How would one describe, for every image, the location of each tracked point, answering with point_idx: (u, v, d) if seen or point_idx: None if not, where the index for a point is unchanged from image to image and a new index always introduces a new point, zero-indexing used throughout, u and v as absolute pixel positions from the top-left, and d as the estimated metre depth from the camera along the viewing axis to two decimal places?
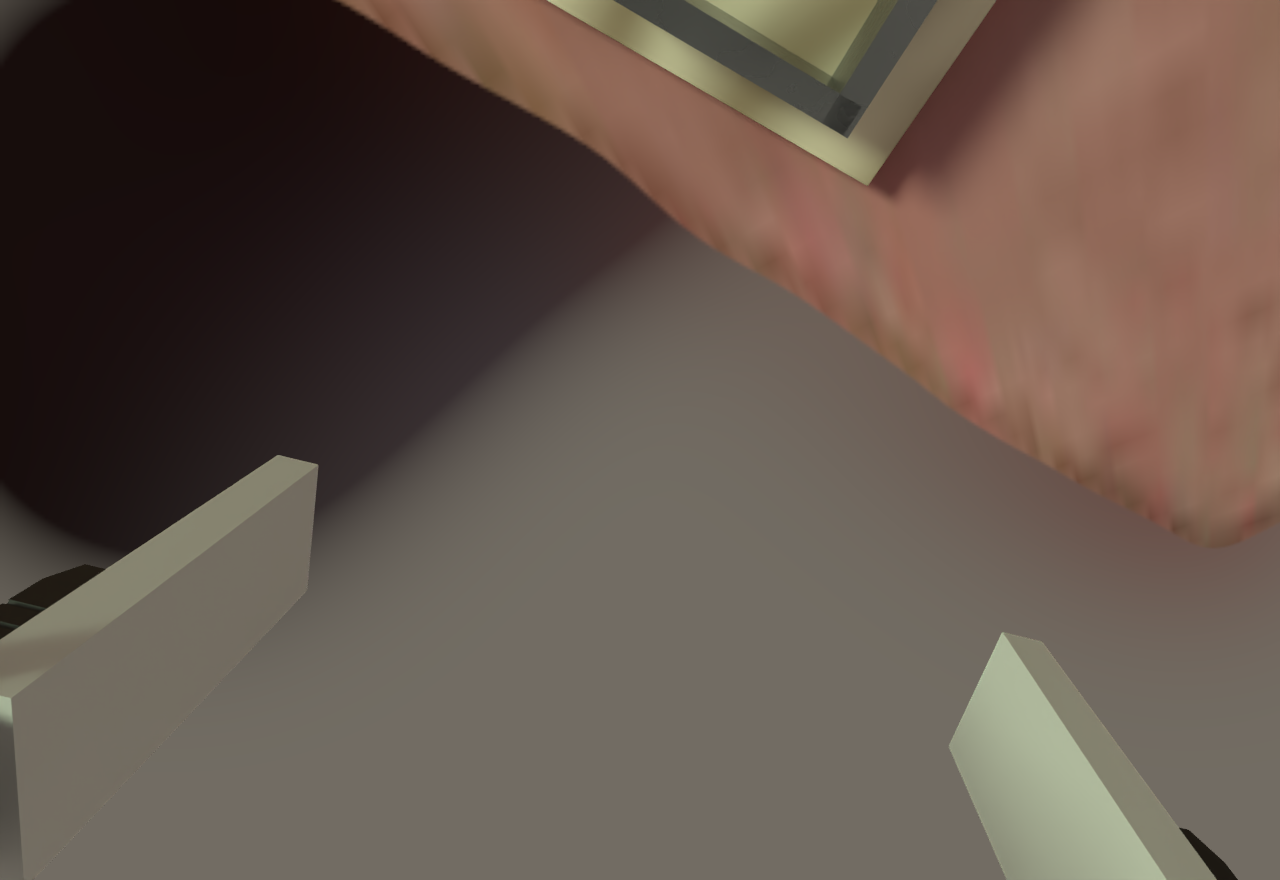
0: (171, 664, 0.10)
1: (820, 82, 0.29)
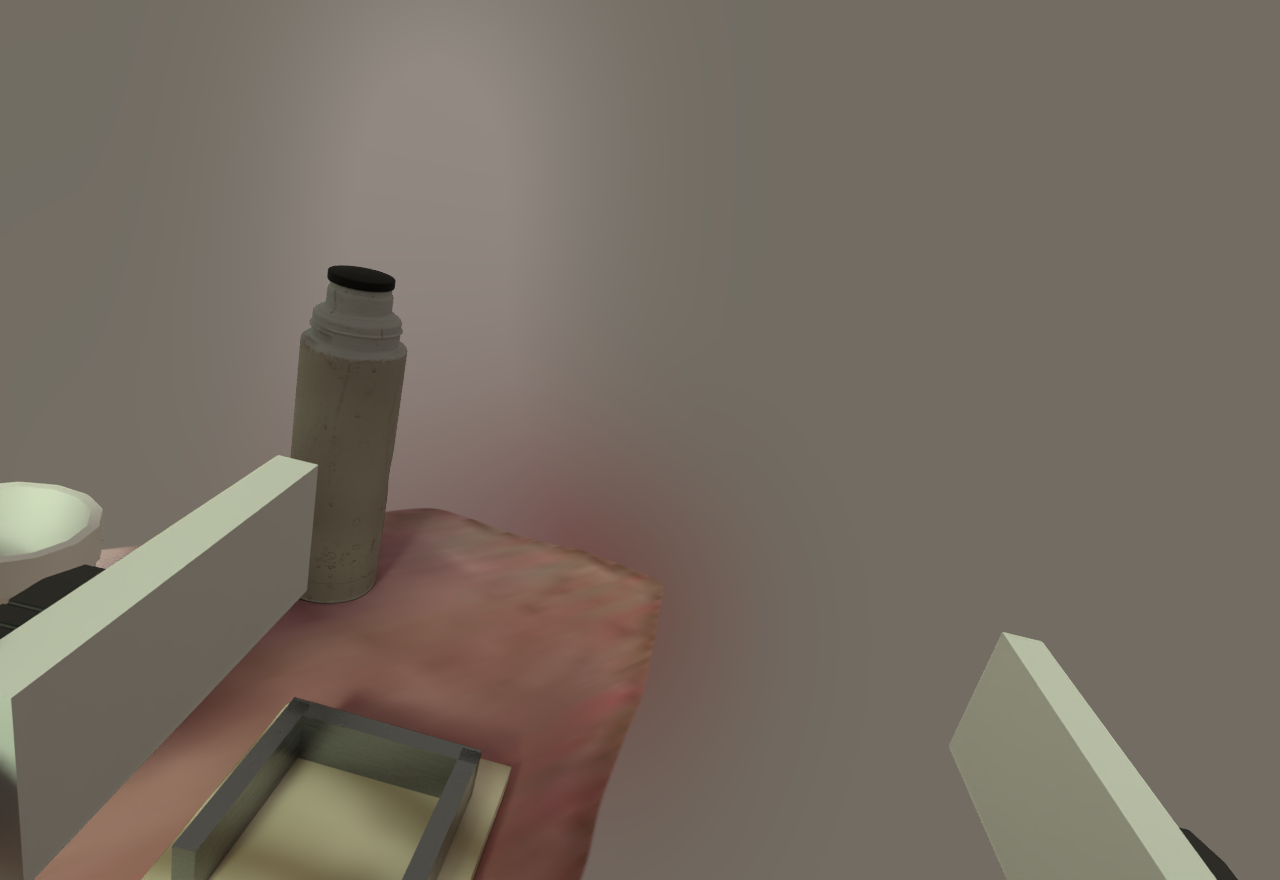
0: (171, 664, 0.10)
1: (452, 770, 0.46)
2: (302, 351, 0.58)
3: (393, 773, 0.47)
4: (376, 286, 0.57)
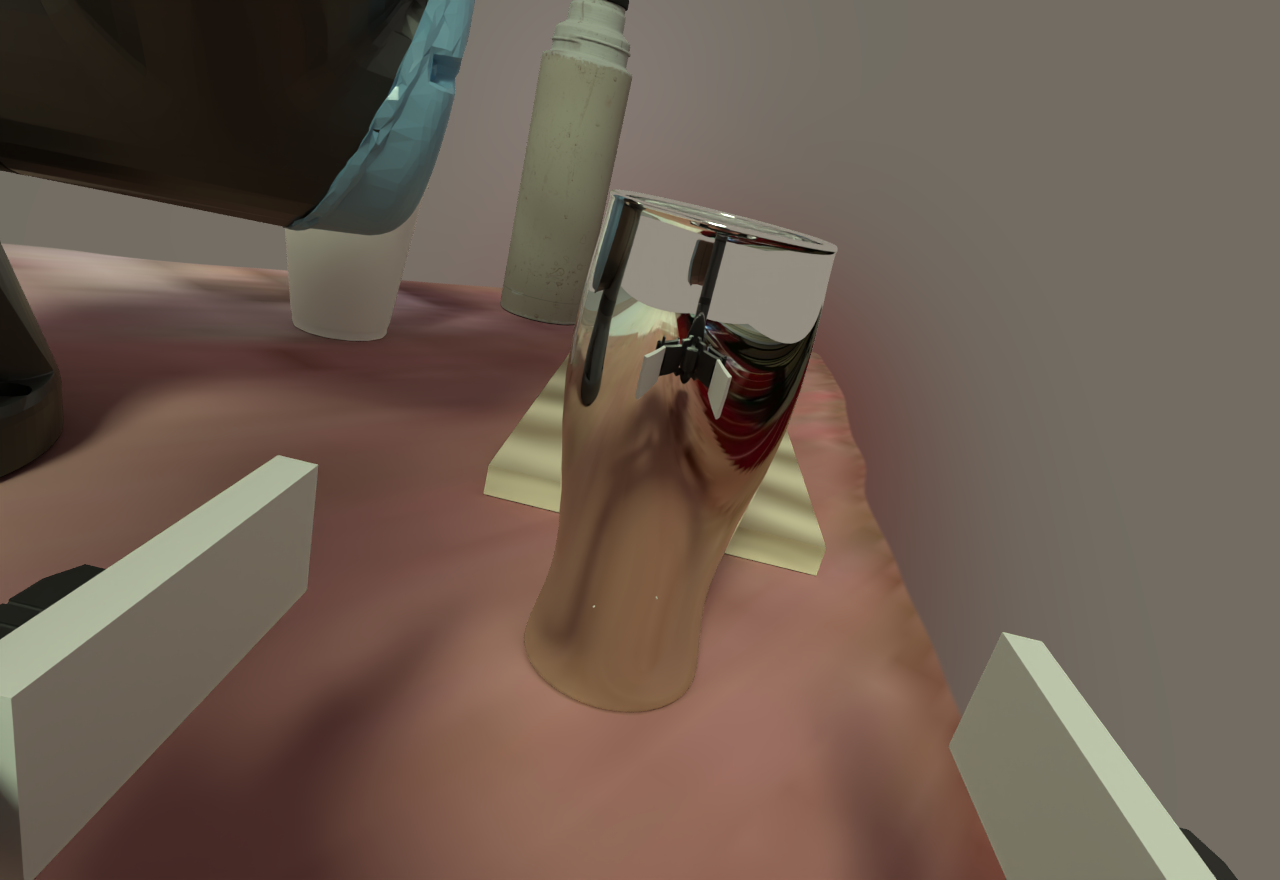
0: (171, 664, 0.10)
1: None
2: (549, 62, 0.63)
3: None
4: None
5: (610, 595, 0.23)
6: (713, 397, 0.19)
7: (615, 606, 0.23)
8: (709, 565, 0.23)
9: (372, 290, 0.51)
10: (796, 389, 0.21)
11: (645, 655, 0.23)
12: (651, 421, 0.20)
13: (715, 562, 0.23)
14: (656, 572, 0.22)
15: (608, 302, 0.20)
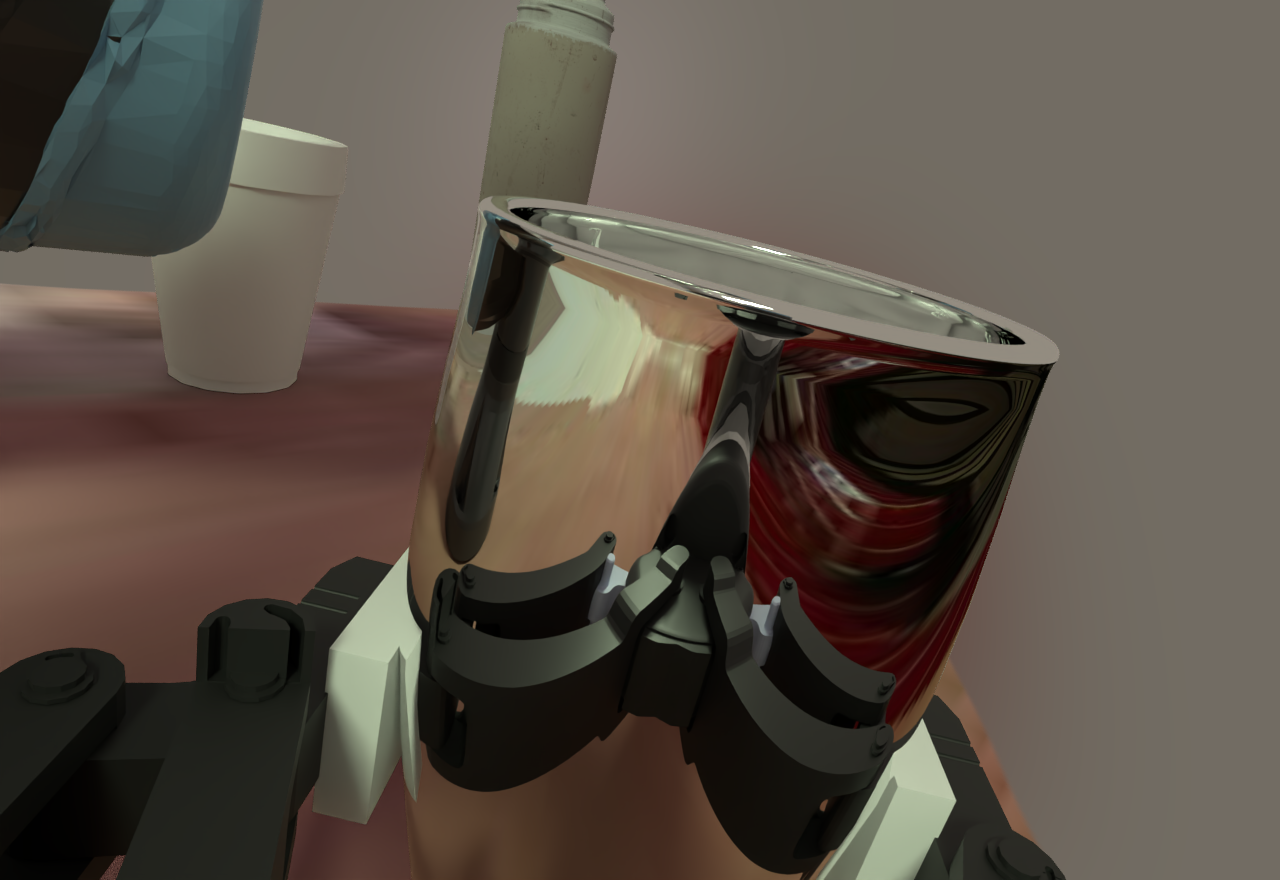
0: None
1: None
2: (512, 37, 0.51)
3: None
4: None
5: None
6: (744, 769, 0.07)
7: None
8: None
9: (266, 328, 0.38)
10: (939, 679, 0.09)
11: None
12: (576, 816, 0.07)
13: None
14: None
15: (462, 495, 0.07)
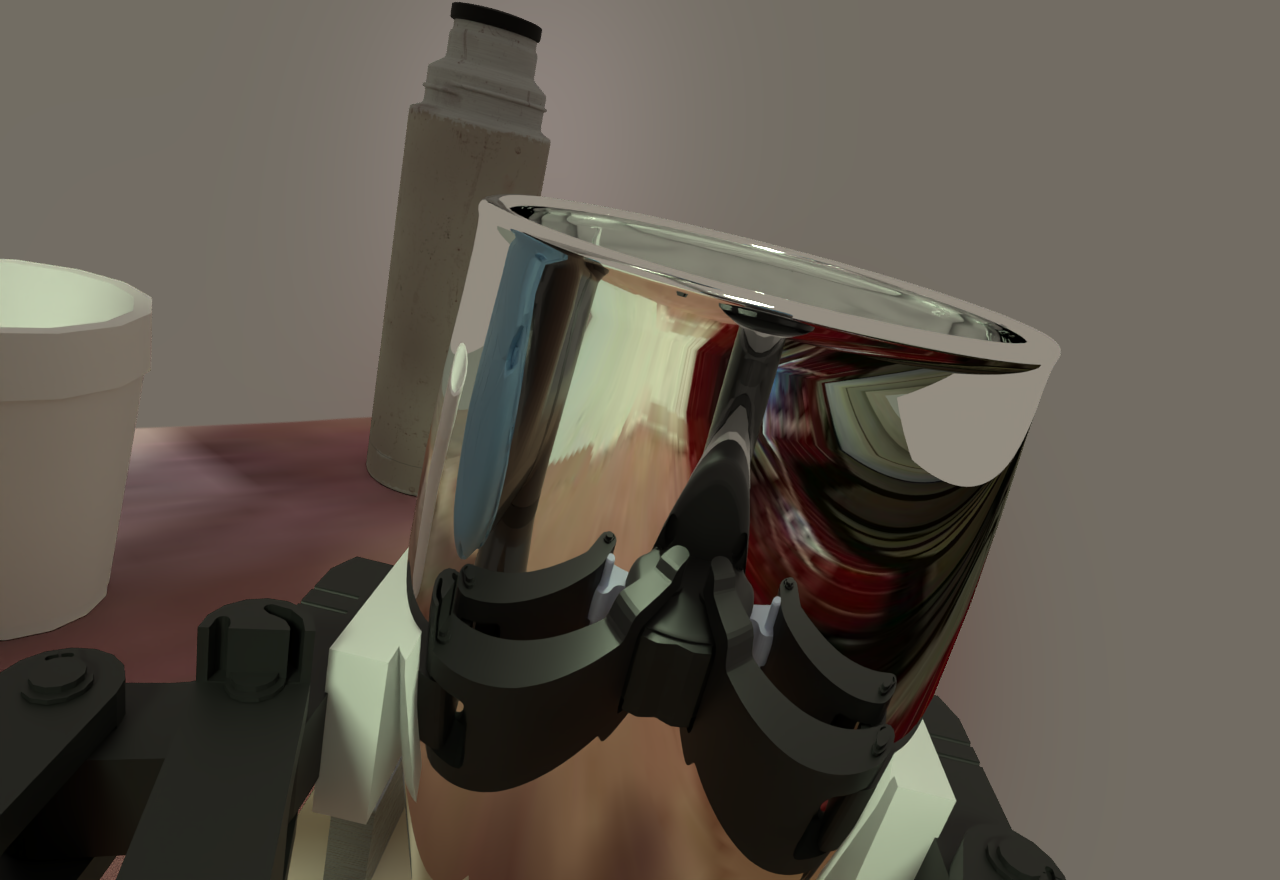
0: None
1: None
2: (415, 124, 0.41)
3: None
4: (524, 25, 0.40)
5: None
6: (745, 768, 0.07)
7: None
8: None
9: (36, 560, 0.28)
10: None
11: None
12: (577, 816, 0.07)
13: None
14: None
15: (462, 494, 0.07)
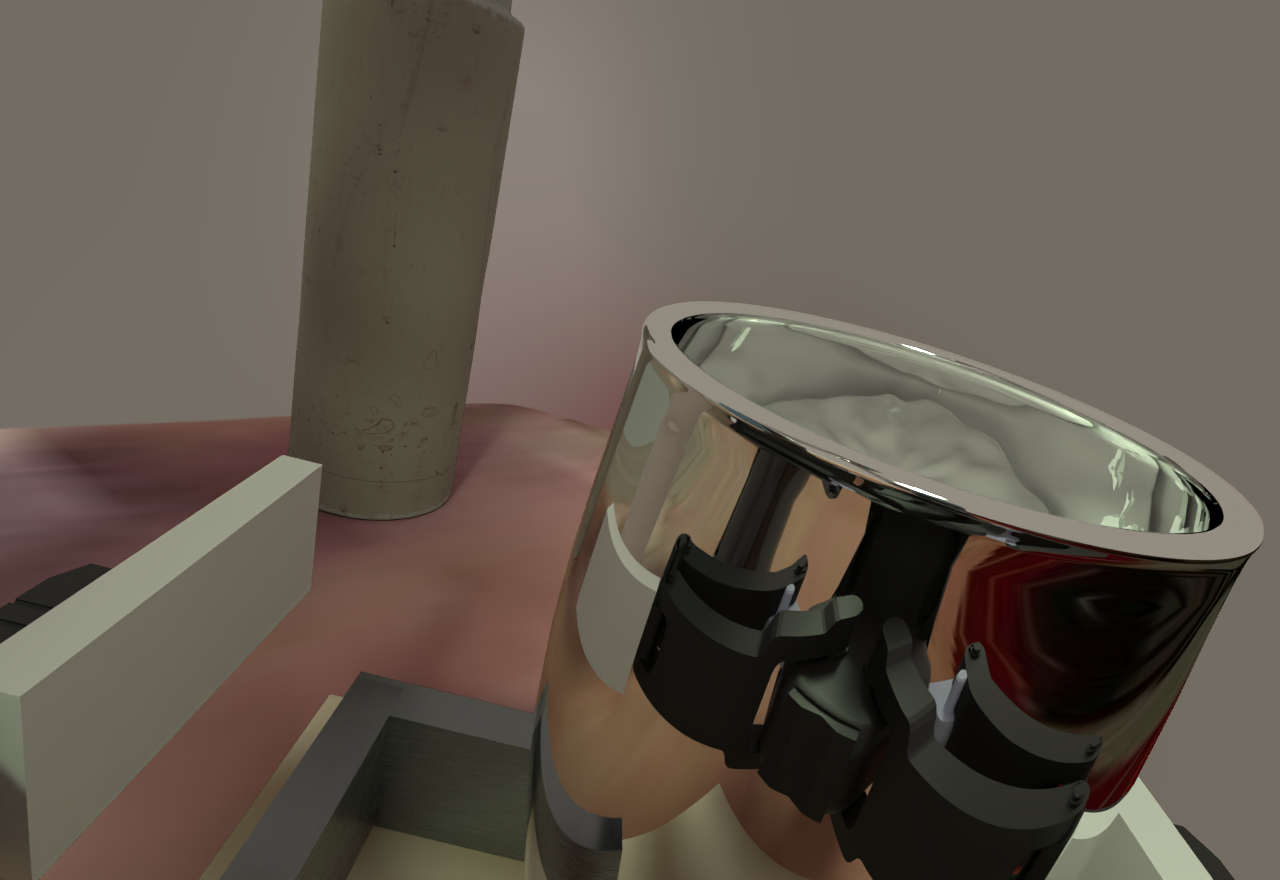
0: (177, 663, 0.10)
1: None
2: None
3: None
4: None
5: None
6: None
7: None
8: None
9: None
10: None
11: None
12: None
13: None
14: None
15: (639, 655, 0.07)
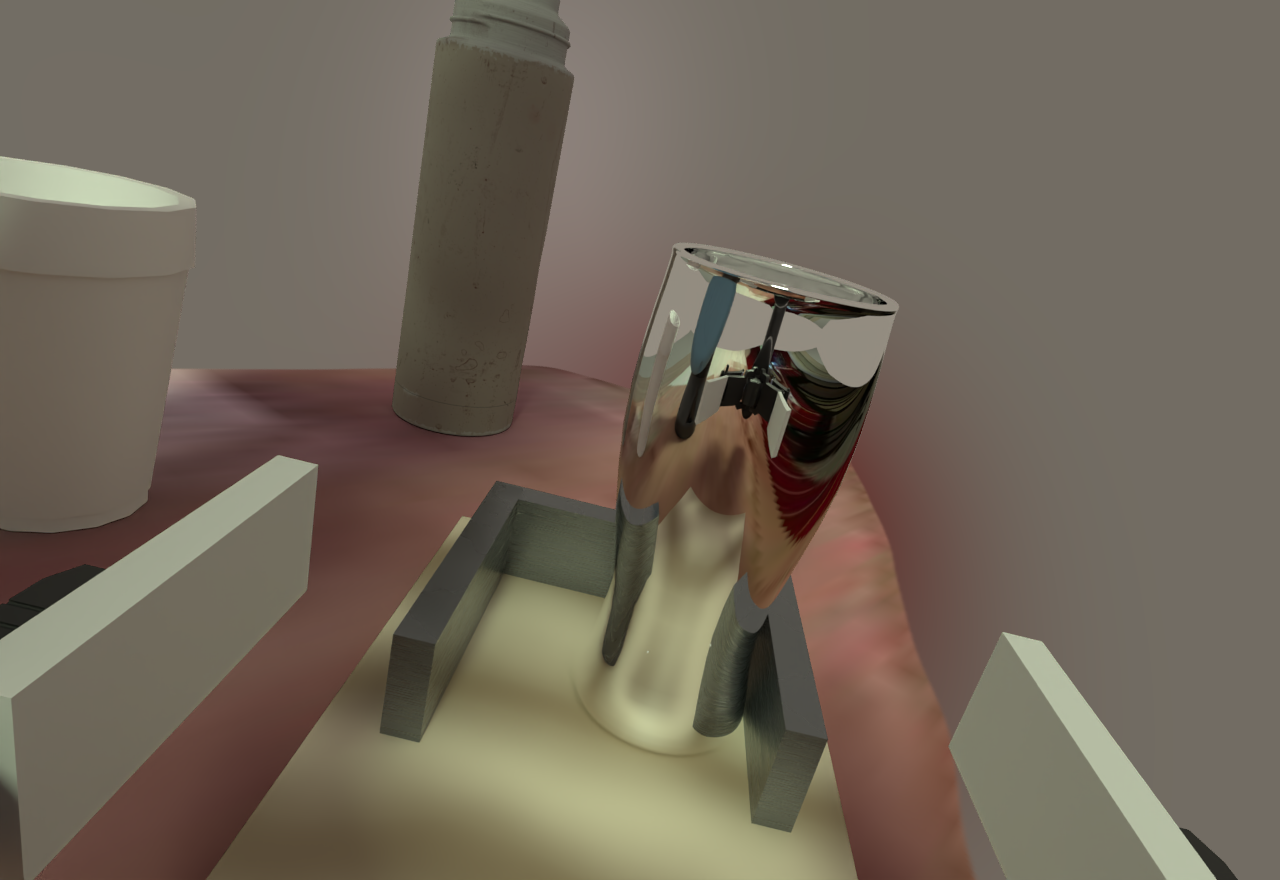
0: (171, 664, 0.10)
1: None
2: (443, 55, 0.41)
3: None
4: None
5: (665, 642, 0.23)
6: (775, 455, 0.20)
7: (669, 652, 0.23)
8: (762, 613, 0.23)
9: (84, 449, 0.29)
10: (854, 444, 0.21)
11: (697, 700, 0.23)
12: (713, 477, 0.20)
13: (768, 609, 0.23)
14: (711, 620, 0.22)
15: (672, 359, 0.20)
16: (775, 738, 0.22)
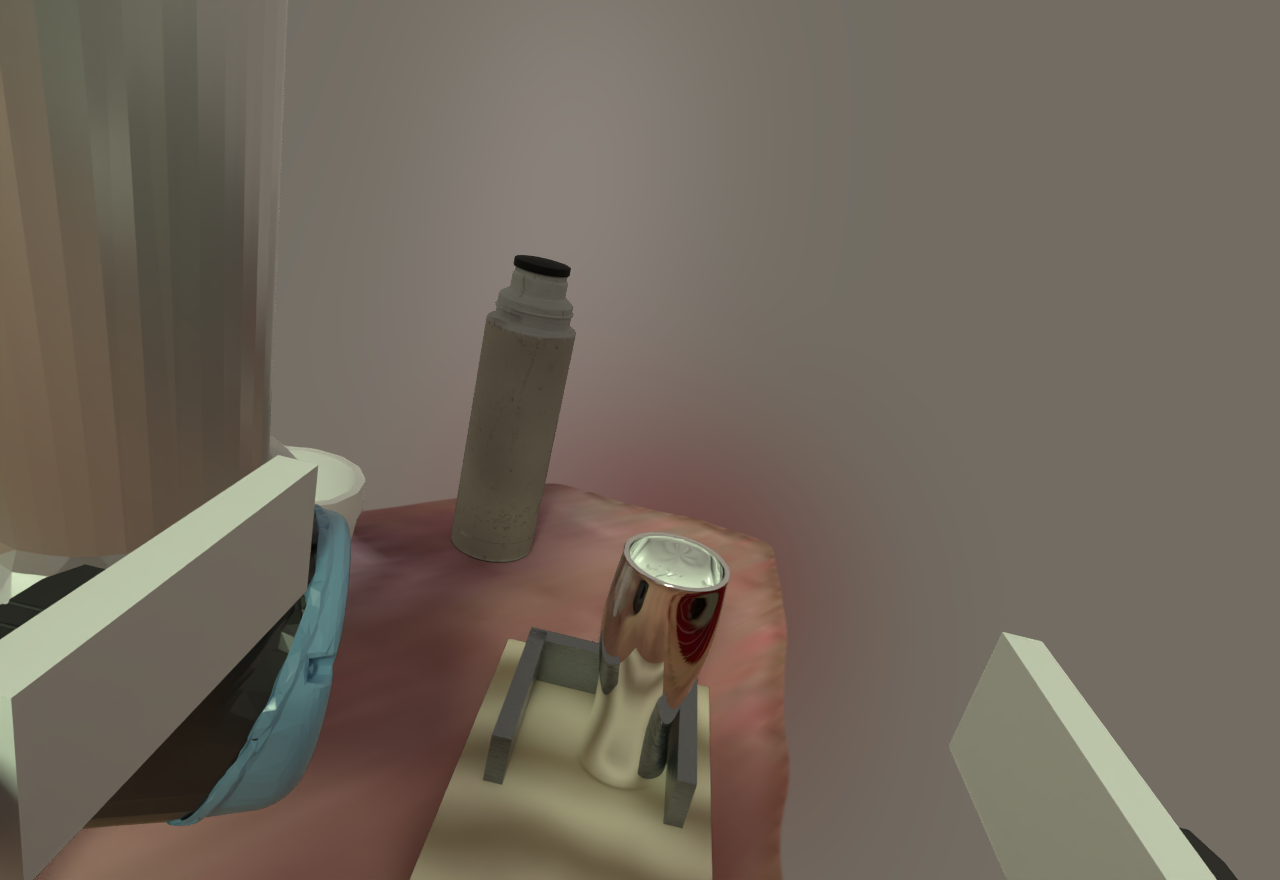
0: (171, 664, 0.10)
1: None
2: (492, 331, 0.65)
3: None
4: (560, 272, 0.64)
5: (621, 733, 0.46)
6: (668, 653, 0.43)
7: (623, 738, 0.46)
8: (670, 718, 0.47)
9: None
10: (710, 641, 0.45)
11: (638, 761, 0.47)
12: (641, 662, 0.43)
13: (673, 716, 0.47)
14: (643, 723, 0.46)
15: (622, 607, 0.44)
16: (674, 783, 0.45)
